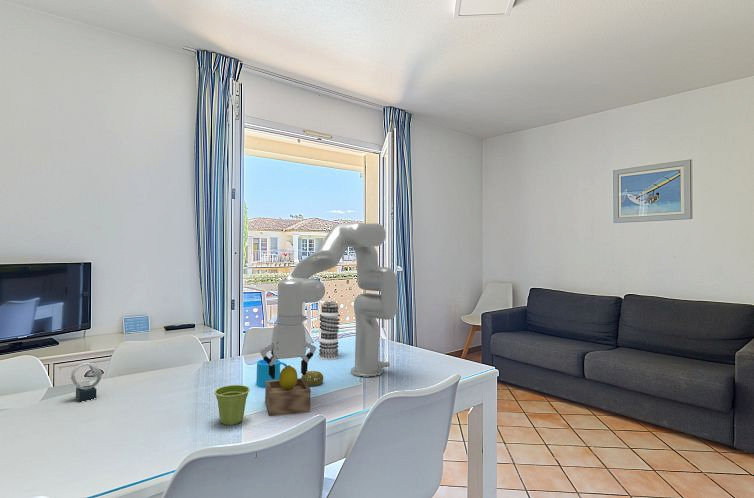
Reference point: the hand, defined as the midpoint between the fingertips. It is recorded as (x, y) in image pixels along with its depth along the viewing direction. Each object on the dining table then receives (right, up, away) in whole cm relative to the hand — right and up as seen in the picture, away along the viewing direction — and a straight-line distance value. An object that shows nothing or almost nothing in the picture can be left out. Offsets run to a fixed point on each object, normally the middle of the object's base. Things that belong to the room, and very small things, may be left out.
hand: (288, 375), depth 131 cm
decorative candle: (+6, -10, +61) cm, 62 cm away
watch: (-64, -8, +2) cm, 64 cm away
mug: (-10, -10, +22) cm, 26 cm away
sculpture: (+4, -10, +23) cm, 25 cm away
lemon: (0, -5, 0) cm, 5 cm away
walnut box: (0, -10, 0) cm, 10 cm away
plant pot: (-13, -9, -12) cm, 20 cm away
